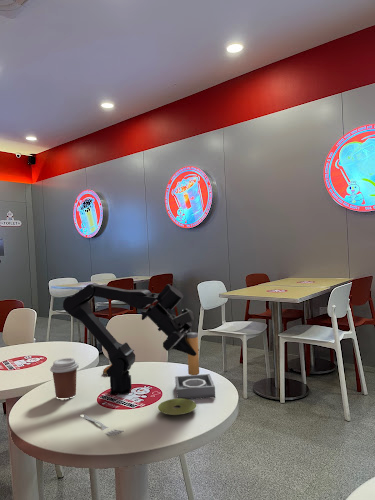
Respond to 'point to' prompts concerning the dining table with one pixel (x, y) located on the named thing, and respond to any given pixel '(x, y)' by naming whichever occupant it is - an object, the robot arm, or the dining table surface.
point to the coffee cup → (64, 377)
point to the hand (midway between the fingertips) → (196, 353)
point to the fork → (103, 426)
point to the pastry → (106, 370)
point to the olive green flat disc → (177, 406)
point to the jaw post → (193, 360)
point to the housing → (194, 386)
